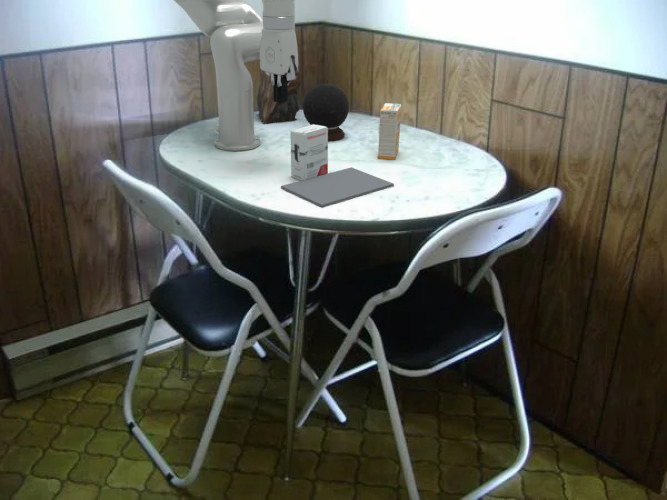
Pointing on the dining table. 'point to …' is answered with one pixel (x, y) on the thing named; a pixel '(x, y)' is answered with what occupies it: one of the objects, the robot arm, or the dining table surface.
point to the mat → (336, 186)
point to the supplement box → (389, 131)
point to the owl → (274, 110)
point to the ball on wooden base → (327, 109)
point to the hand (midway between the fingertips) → (280, 101)
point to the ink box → (309, 152)
